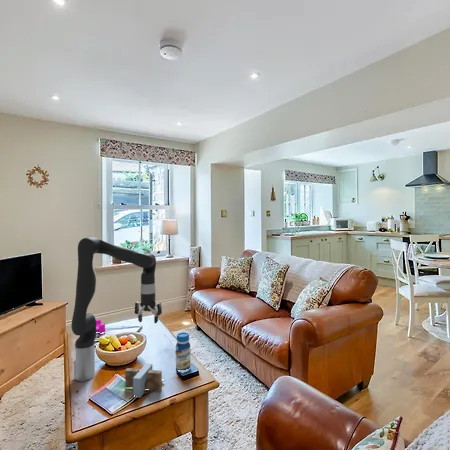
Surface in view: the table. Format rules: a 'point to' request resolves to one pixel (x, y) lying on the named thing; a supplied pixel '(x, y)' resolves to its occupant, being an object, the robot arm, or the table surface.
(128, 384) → the u-shaped brown bracket
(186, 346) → the beverage bottle
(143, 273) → the robot arm
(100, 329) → the toy block
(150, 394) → the table surface
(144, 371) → the grey block
